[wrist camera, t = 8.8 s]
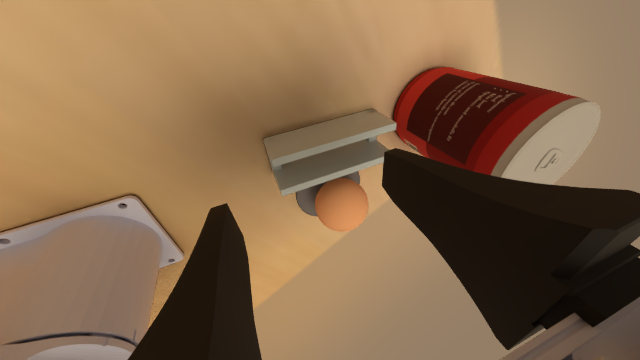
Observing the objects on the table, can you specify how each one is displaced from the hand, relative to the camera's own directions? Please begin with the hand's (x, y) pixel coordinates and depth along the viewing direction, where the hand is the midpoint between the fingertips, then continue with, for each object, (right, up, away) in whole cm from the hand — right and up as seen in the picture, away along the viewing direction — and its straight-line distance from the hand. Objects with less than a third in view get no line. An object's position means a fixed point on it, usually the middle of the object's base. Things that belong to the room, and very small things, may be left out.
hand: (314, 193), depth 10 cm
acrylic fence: (0, +4, +10) cm, 11 cm away
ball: (+1, 0, +14) cm, 14 cm away
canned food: (+11, +8, +13) cm, 18 cm away
